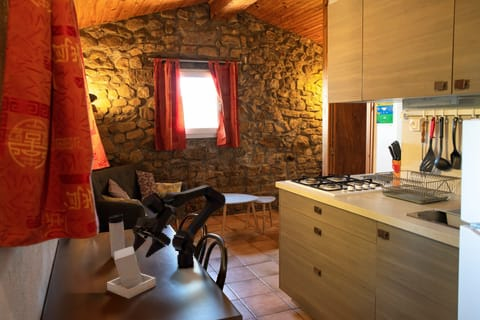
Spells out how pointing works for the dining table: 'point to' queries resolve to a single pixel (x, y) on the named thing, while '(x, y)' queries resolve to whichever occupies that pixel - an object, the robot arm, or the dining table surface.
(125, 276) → the supplement box
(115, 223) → the travel mug
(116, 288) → the tray
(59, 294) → the dining table surface
